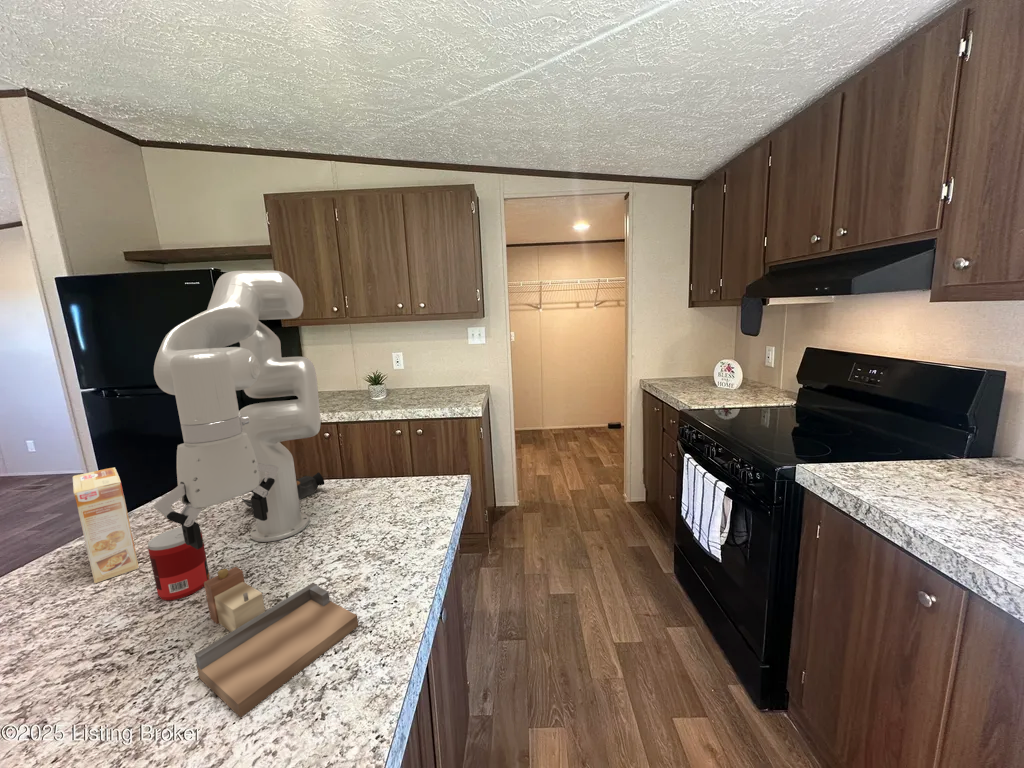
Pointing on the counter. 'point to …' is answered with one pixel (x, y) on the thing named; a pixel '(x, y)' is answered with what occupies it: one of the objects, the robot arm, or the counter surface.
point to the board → (273, 647)
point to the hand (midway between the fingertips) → (230, 531)
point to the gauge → (232, 599)
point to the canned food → (177, 565)
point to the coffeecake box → (105, 523)
